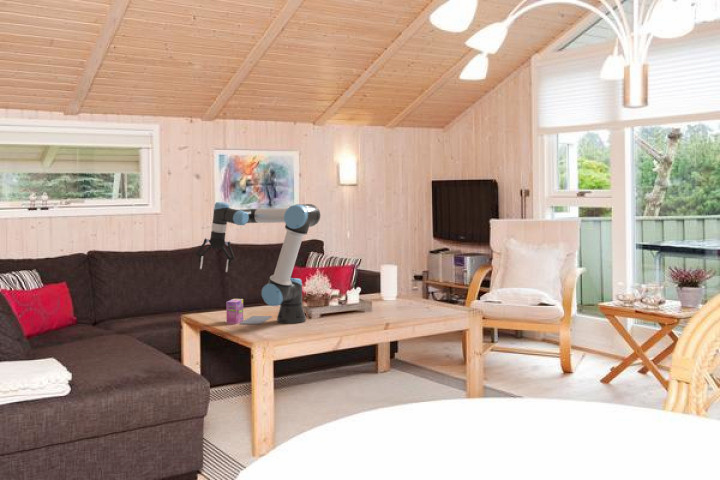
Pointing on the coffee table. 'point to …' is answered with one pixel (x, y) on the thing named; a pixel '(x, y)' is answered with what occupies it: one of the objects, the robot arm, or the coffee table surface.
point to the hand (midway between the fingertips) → (213, 270)
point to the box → (234, 311)
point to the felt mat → (256, 320)
